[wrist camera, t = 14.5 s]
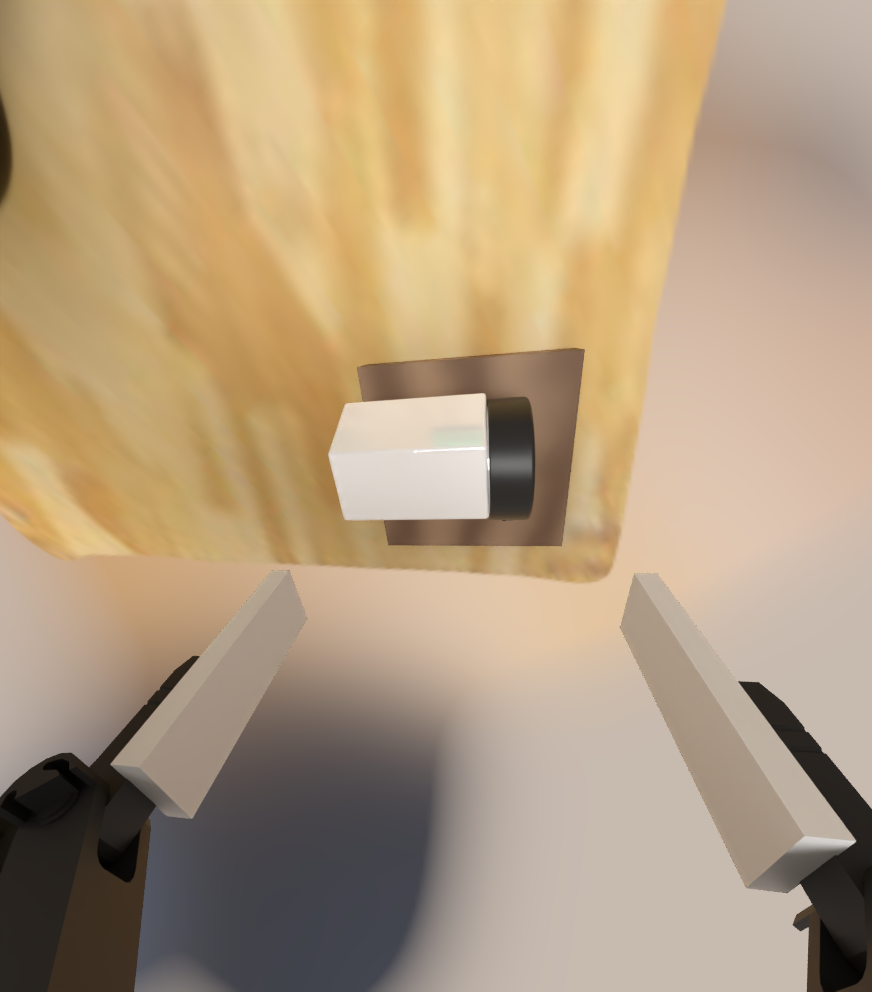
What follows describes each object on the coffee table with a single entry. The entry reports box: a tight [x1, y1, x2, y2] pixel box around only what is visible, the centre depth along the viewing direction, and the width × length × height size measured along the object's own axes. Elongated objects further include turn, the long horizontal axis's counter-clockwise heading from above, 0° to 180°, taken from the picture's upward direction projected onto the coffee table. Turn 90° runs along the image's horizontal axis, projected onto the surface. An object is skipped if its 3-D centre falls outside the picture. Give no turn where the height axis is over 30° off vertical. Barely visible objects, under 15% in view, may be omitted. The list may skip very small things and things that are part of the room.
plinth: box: [357, 348, 585, 546], centre depth 27 cm, size 16×16×2 cm
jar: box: [328, 393, 535, 521], centre depth 22 cm, size 9×8×12 cm
